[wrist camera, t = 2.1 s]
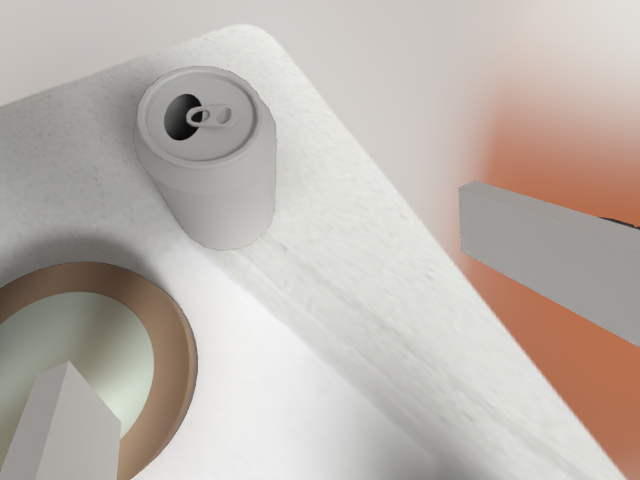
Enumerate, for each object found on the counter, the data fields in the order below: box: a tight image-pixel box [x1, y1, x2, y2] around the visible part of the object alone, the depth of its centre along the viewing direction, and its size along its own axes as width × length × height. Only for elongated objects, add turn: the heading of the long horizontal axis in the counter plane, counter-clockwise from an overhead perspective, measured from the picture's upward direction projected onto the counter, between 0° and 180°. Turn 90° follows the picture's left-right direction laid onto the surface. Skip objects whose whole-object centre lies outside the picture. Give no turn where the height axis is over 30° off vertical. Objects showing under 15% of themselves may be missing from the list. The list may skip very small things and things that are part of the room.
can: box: [133, 66, 277, 251], centre depth 23 cm, size 8×8×12 cm
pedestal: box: [0, 262, 198, 480], centre depth 22 cm, size 14×14×3 cm
